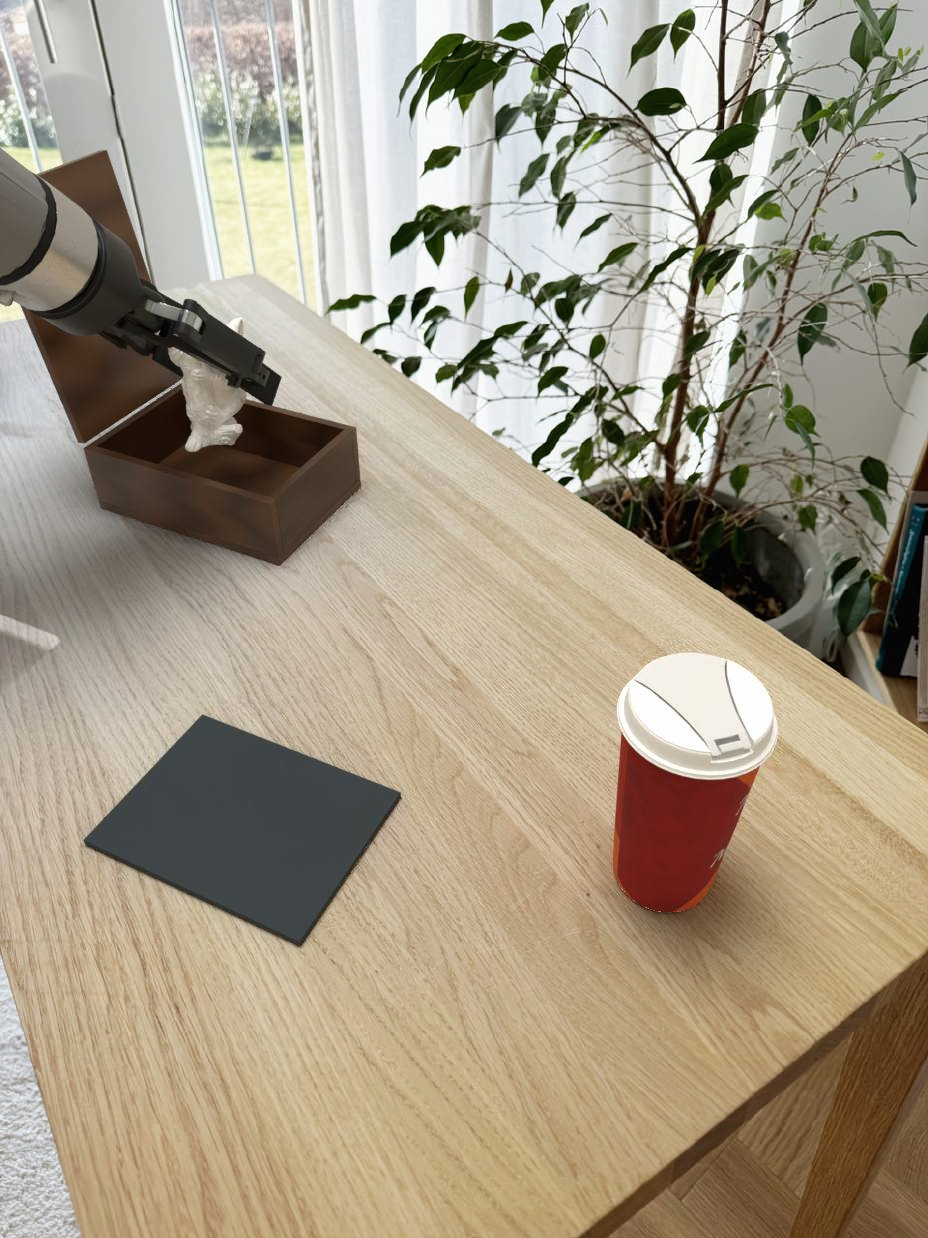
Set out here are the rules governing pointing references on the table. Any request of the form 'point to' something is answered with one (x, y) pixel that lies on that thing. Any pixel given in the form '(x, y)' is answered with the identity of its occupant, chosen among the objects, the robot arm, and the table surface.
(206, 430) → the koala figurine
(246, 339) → the robot arm
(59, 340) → the chest lid
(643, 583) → the table surface
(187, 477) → the chest
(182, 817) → the mat
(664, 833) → the coffee cup
